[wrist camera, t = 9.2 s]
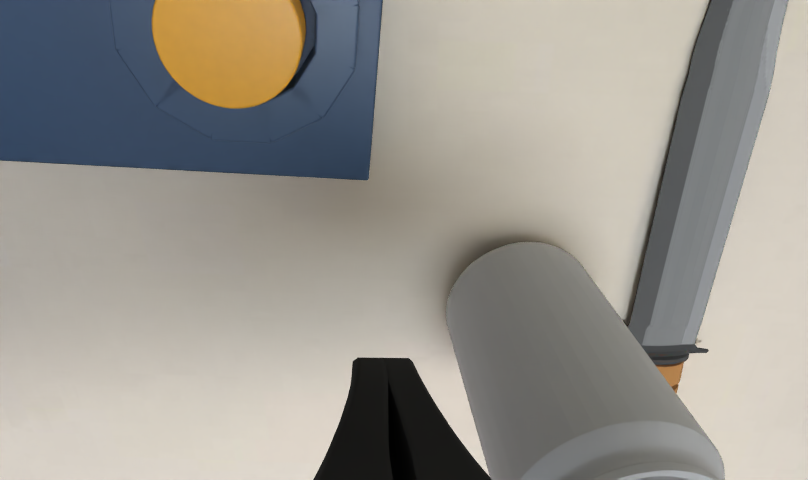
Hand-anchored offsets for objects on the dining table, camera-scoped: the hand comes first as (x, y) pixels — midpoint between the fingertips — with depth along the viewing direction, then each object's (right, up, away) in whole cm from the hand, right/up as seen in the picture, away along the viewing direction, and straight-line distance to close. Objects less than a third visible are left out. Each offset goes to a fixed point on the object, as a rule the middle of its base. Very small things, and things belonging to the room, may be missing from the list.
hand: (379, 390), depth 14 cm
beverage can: (+5, +1, +12) cm, 13 cm away
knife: (+13, +3, +12) cm, 18 cm away
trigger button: (-4, +10, +2) cm, 11 cm away
